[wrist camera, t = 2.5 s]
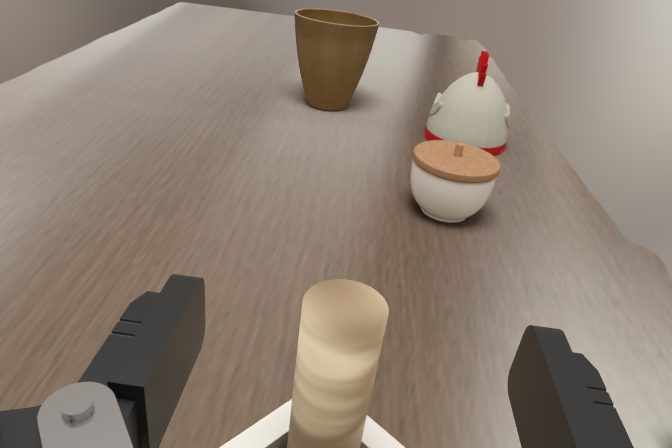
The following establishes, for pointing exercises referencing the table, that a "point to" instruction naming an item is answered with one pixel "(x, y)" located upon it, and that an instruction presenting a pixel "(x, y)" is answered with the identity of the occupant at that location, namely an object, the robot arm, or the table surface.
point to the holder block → (272, 432)
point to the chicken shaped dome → (471, 112)
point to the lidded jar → (452, 179)
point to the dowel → (336, 364)
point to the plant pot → (332, 54)
